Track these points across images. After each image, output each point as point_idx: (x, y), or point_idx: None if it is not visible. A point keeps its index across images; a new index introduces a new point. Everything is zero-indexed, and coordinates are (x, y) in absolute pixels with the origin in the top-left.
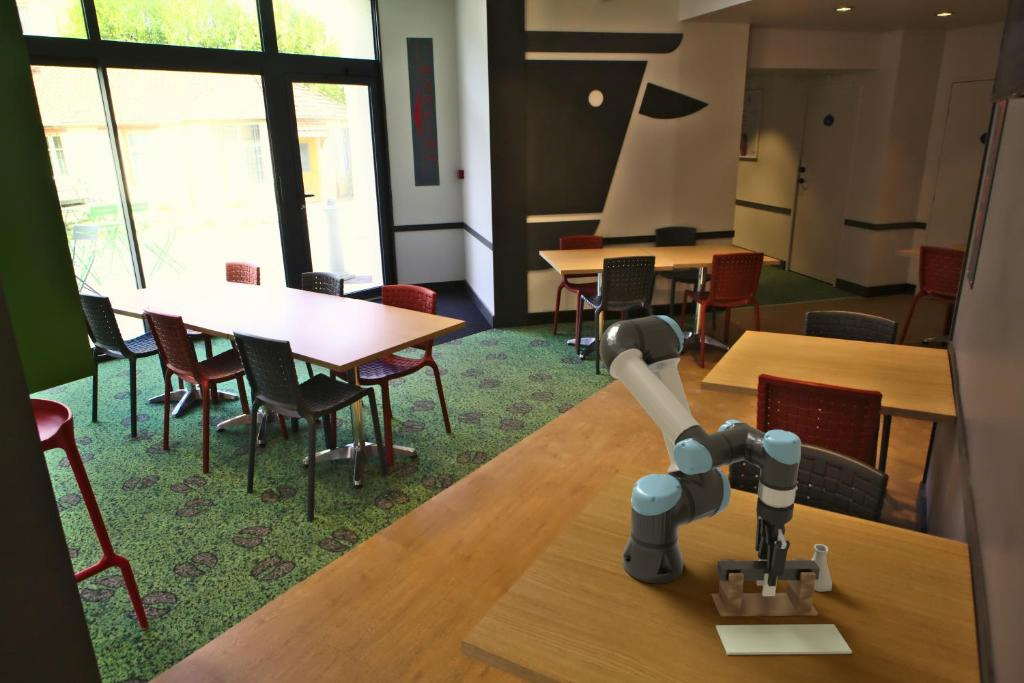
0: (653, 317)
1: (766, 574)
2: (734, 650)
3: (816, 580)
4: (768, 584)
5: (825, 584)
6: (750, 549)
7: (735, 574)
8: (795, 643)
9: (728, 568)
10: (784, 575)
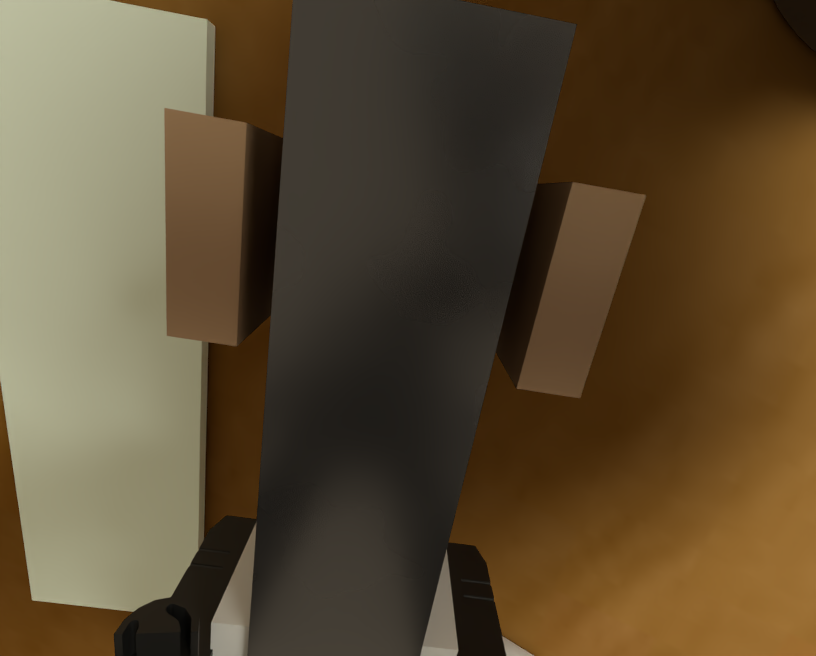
0: None
1: (228, 594)
2: None
3: None
4: (240, 523)
5: None
6: (790, 548)
7: (198, 217)
8: (62, 415)
9: (312, 142)
10: None
